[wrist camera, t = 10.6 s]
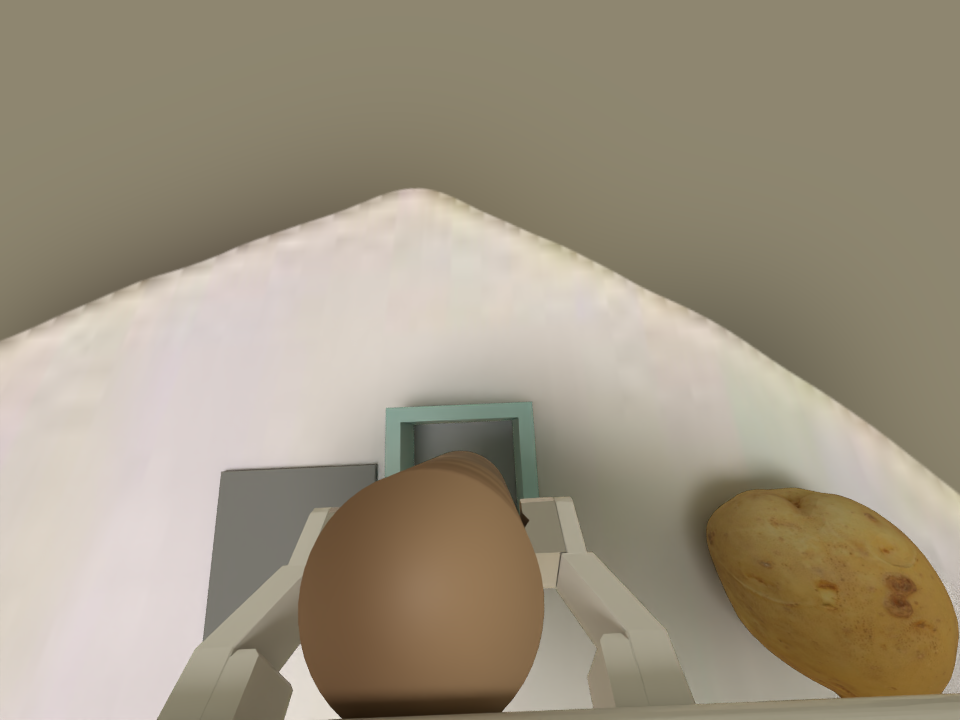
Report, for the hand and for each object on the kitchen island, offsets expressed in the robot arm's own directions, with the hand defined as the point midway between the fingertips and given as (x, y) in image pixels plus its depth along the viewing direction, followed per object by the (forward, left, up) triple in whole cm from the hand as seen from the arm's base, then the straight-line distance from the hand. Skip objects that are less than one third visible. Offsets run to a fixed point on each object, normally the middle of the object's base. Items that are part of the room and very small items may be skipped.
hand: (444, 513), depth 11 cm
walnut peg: (0, +1, -6) cm, 6 cm away
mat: (+13, +6, -18) cm, 23 cm away
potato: (-22, +8, -18) cm, 29 cm away
